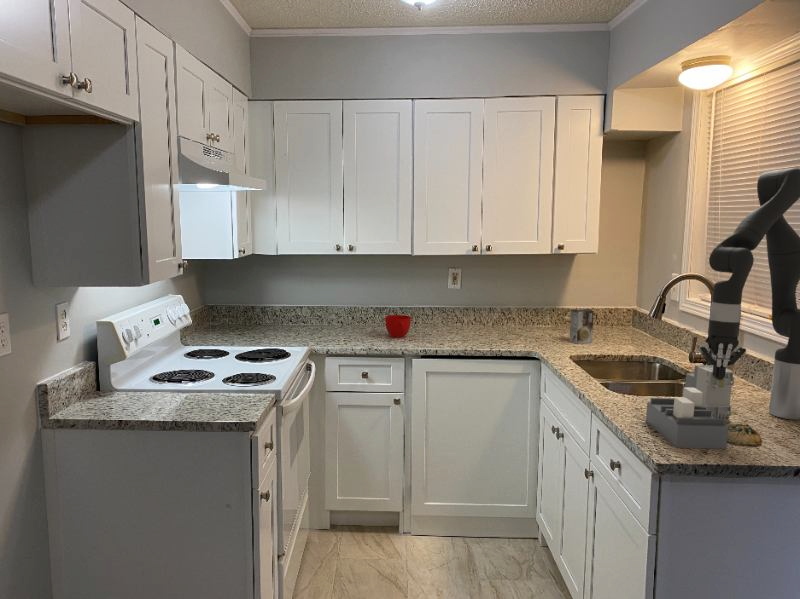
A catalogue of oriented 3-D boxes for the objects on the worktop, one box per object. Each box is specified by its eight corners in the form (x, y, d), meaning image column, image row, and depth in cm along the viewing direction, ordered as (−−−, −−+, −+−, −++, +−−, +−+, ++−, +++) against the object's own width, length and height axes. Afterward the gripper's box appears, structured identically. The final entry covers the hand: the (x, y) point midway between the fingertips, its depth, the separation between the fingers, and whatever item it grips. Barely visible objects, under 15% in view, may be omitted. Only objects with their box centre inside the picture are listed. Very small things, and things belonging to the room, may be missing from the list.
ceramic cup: (389, 341, 275) (390, 320, 274) (382, 334, 292) (382, 315, 290) (415, 340, 278) (416, 320, 277) (407, 333, 295) (407, 314, 293)
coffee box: (584, 340, 286) (586, 308, 283) (592, 342, 280) (594, 310, 277) (568, 341, 283) (570, 309, 281) (576, 343, 277) (578, 311, 274)
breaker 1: (692, 404, 165) (694, 387, 164) (701, 409, 160) (702, 392, 159) (682, 404, 165) (683, 387, 164) (690, 409, 160) (691, 392, 159)
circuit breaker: (703, 405, 184) (707, 360, 182) (730, 421, 170) (734, 372, 168) (680, 405, 184) (684, 360, 182) (705, 421, 170) (710, 372, 168)
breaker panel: (690, 422, 168) (692, 397, 167) (726, 448, 148) (729, 421, 147) (645, 421, 169) (647, 396, 168) (675, 447, 149) (678, 419, 148)
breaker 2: (684, 415, 155) (685, 397, 155) (692, 421, 150) (694, 403, 150) (673, 414, 155) (674, 397, 155) (681, 421, 150) (682, 402, 150)
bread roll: (741, 430, 162) (744, 414, 161) (771, 450, 152) (774, 433, 150) (705, 433, 161) (708, 417, 159) (733, 454, 150) (736, 437, 149)
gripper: (741, 317, 162) (734, 376, 165) (694, 315, 163) (688, 374, 165) (756, 322, 155) (749, 383, 157) (707, 320, 155) (700, 381, 158)
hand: (718, 378), depth 161 cm, fingers closed
